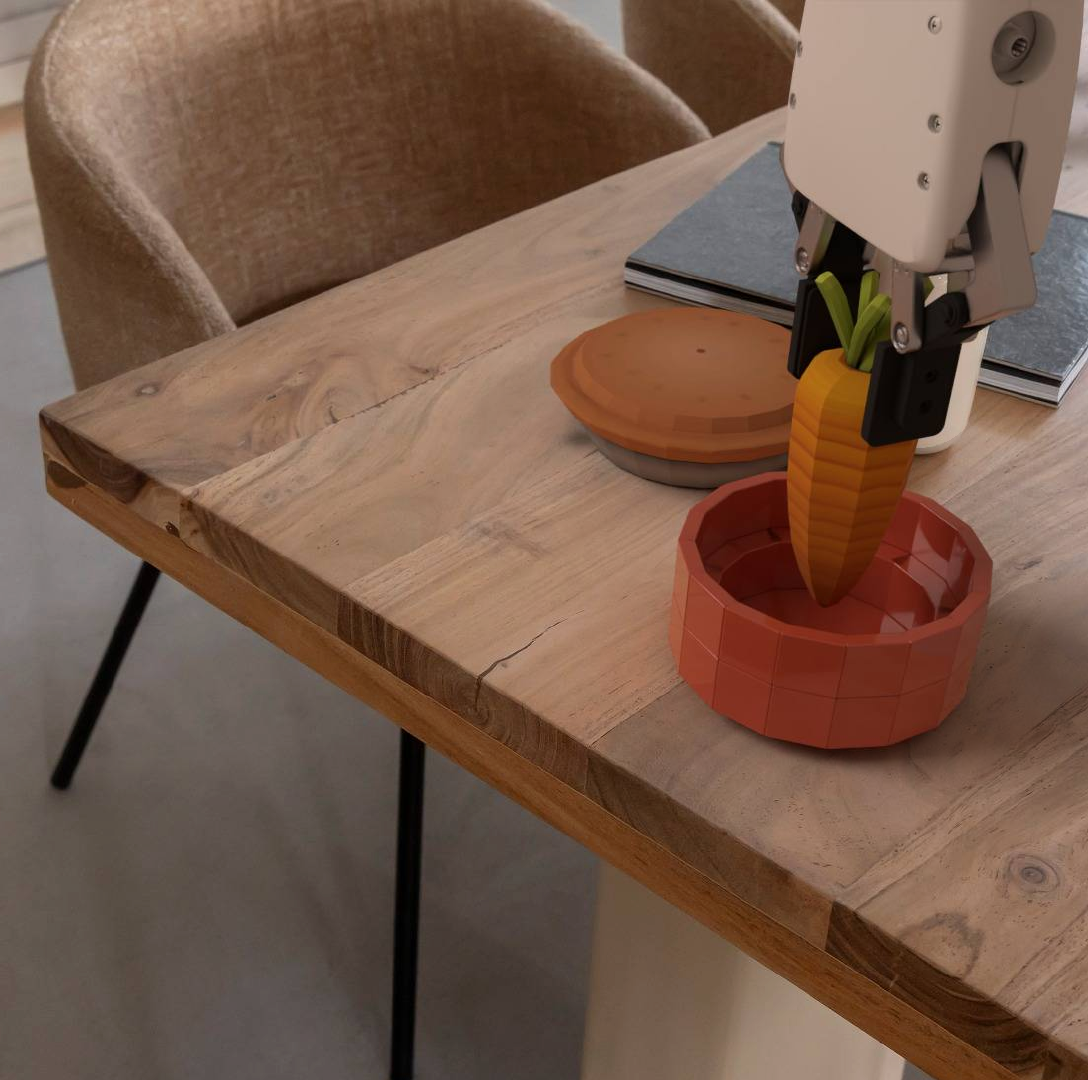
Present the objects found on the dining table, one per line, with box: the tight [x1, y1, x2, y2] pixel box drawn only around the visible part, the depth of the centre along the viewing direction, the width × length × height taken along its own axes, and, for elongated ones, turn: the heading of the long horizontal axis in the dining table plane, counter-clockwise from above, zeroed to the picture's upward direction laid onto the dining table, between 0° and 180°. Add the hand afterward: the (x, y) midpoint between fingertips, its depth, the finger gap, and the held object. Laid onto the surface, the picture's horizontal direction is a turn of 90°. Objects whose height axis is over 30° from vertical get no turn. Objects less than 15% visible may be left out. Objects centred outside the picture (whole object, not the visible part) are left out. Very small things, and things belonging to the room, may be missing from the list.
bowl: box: [667, 470, 994, 750], centre depth 60 cm, size 12×12×6 cm
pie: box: [549, 306, 800, 489], centre depth 76 cm, size 15×16×5 cm
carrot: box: [786, 270, 935, 608], centre depth 56 cm, size 5×5×15 cm
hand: (862, 398), depth 55 cm, fingers closed on carrot, 4 cm apart
